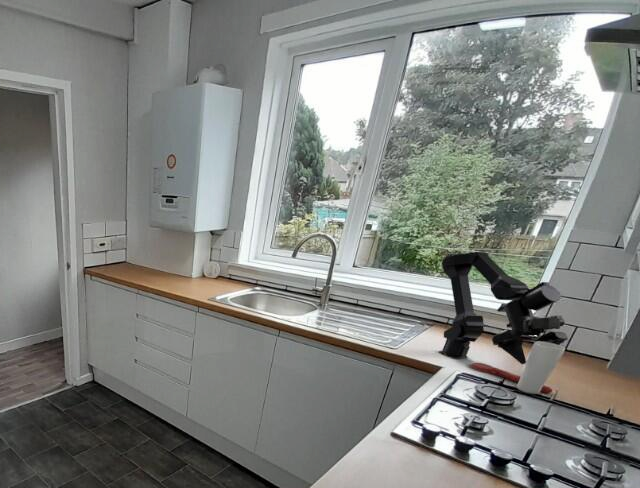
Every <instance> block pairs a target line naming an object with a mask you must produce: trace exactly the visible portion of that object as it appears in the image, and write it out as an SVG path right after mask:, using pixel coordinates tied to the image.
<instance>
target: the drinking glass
mask: <svg viewBox="0 0 640 488" xmlns="http://www.w3.org/2000/svg"><path fill="white" fill-rule="evenodd" d="M533 342H534V343H533V344H532V345H531V348H530V350H529V352H528V354H527V357H526V363H525V364H523V365H524V366H523V369H522V372H521V374H520V380H519V382H518V383H517V384H516V389H517V390H519V391H520V392H522V393H525V394H530V395H538V394H540V393H541V389H542V387H543V386H544V385H545V384H546V383H547V381H548V379H549V378H550V377H551V375H552V373H553V372H554V370H555V368H556V367H557V366H558V364H559V363H560V361H561V359H562V357H563V356H564V353H565V350H566V347H564V346H563V345H561V344H560V345H557V344H553V343H548V342H541V341H536V342H535V341H533Z"/></svg>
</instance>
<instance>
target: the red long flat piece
mask: <svg viewBox="0 0 640 488" xmlns="http://www.w3.org/2000/svg"><path fill="white" fill-rule="evenodd" d="M470 366H471V368H472V369H474V370H476V371H479V372H483V373H490V374H491V375H495V376H498V377H502V378H504V379H507V380H509V381H513V382H515V383H517V384H518V382H519V380H520V377H521V375H518V374H514V373H512V372H509V371H506V370H504V369H501V368H498V367H494V366H492V365H491V364H486V363H483V362H472V363H471V365H470ZM552 392H553V388H552V387H550V386H548V385H545V384H544V386H543V387H542V389H541V391H540V393H544V394H550V393H552Z"/></svg>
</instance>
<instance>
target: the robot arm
mask: <svg viewBox="0 0 640 488" xmlns="http://www.w3.org/2000/svg"><path fill="white" fill-rule="evenodd" d="M441 266H442V270H443V273H444V274H445V275H446V276H447V277H448V278H449V279H450V284H451V291H452V297H453V302H454V303H453V304H454V307H455V308H454V309H455V317H454V319H453V320H452V322H451V323H452V324H451V325H452V326H451V327H449V328H447V329H446V330H444V331H443V339H446V340H445V343H444V345H443V347H442V350H439V351H438V353H439V354H442V355H444V356H447V357H451V358H453V359H466V358H468V353H469V350H470V344H471V342H473V343H475V342H476V341H477V340H478V339H479V338H480V337H481V336H482V334H483V333H484V330H485V329H484V328H485V327H486V324H485V322H484V317H483V315H477V314H476V313H475V310H474V304H473V297H472V293H471V287H470V282H469V274H470V272H471V270H472V268H474V269H475V270H477V271H478V273H480V275H482V277H483V278H484V279H485V280H486V281H487V282H488V283H489V285H490V291H491V293H492V295H493V297H494V298H495V299H496V300H498V301H509V302H507V303H503V302H502V303H501V304H500V306H499V307H497V312H498V313H505V314H506V317H507V319H508V323H506V328H508V329H505V330H503V331H501V332H499V333H496V334H495V335H493V336H492V339H491V341H492V344H493V346H497V347H498V348H500V349H502V350H503V351H505V352H506V353H507V354H509V355H510V356H511V357H512V358H513V359H514V360H515V361H517V362H518V363H520V364H521V365H525V363H526V360H527V358H526V355H525V352H524V349H523V343H524V342H536V341H541V342H548V343H553V344H557V345H560V346H561V344H563V343H565V341H567V340H569V338H568V336H567V333H565V332H564V331H551V330H554V329H555V330H560V329H561V327H563V326H564V325H565V323H566V322H565V319H564V318H563V316H562V315H551V316H546V317H540V316H534V313H533V311H535V312H537V311H540V310H543V309H544V308H547V307H548V306H550V305H552V304H554V303H556V302H559V301H560V300H561V299H562V295H561V292H560V291H559V290H558V289H557V288H556V287H554V286H553V285H551V284H550V282H547V281H541V282H539V283H538V284H536V285H535V286H533V287H532V288H529V286H528V285H527V284H526V283H524V282H523V281H521V280H520V279H518V278H515V277H513V276H510V275H509V274H508V273H506V271H504V270H503V269H502V268H501V267H500V266H499V265H498V264H497V263H496V262H495V261H494V260H493V259H492V258H491V257H490V256H489V253H488V252H485V251H470V252H466V253H448V254H447V255H446V256H444V257H443V259H442V260H441ZM509 328H510V329H509ZM548 330H550V331H549V332H547V331H548ZM541 334H542V335H541Z"/></svg>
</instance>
